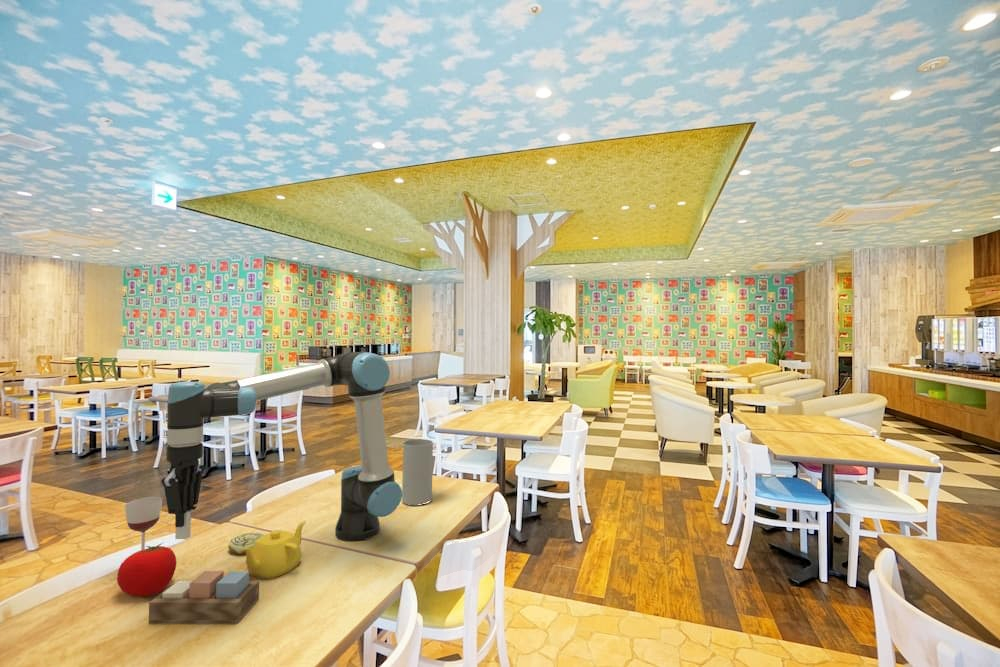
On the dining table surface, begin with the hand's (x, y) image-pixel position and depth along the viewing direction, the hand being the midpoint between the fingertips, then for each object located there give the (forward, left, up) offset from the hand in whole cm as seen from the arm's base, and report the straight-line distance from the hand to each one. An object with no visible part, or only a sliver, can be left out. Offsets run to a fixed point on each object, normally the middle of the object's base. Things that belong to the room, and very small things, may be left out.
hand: (182, 537), depth 113 cm
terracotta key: (-6, 0, -15) cm, 16 cm away
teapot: (-14, -21, -19) cm, 31 cm away
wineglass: (+25, -20, -19) cm, 37 cm away
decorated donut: (+2, -34, -19) cm, 39 cm away
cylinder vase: (-46, -78, -19) cm, 93 cm away
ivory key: (0, 0, -17) cm, 17 cm away
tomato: (+15, -9, -19) cm, 25 cm away
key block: (-6, 0, -18) cm, 19 cm away
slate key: (-13, 0, -15) cm, 20 cm away
